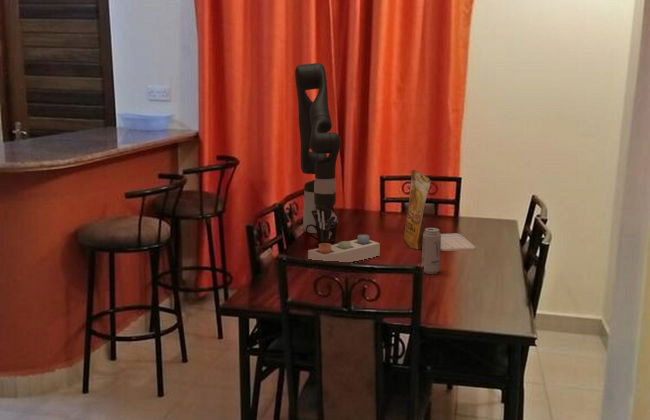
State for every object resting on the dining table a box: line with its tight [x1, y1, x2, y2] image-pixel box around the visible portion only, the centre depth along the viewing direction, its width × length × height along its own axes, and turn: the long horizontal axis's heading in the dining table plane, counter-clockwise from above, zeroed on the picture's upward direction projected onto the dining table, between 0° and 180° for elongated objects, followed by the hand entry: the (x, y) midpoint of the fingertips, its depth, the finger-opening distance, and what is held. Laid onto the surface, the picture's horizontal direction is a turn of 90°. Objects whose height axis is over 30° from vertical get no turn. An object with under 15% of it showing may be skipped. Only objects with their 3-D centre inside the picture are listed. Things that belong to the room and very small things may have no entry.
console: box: [307, 239, 381, 262], centre depth 244 cm, size 9×26×5 cm, turn 128°
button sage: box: [337, 240, 351, 250], centre depth 244 cm, size 4×4×3 cm
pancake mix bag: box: [403, 169, 432, 250], centre depth 262 cm, size 7×19×28 cm, turn 7°
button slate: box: [357, 234, 370, 245], centre depth 249 cm, size 4×4×3 cm
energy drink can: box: [421, 227, 442, 275], centre depth 231 cm, size 6×6×15 cm
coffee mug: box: [305, 220, 339, 246], centre depth 261 cm, size 12×9×10 cm
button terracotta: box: [318, 243, 331, 254], centre depth 238 cm, size 4×4×3 cm
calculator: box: [440, 232, 476, 252], centre depth 266 cm, size 13×20×2 cm, turn 8°
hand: (324, 239), depth 237 cm, fingers closed
